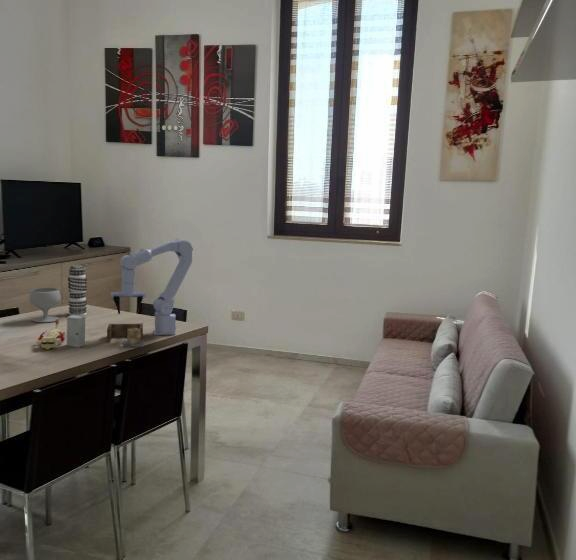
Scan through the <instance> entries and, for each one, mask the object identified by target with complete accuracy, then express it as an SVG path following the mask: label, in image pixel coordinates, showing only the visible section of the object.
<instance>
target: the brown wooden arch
mask: <svg viewBox="0 0 576 560" xmlns="http://www.w3.org/2000/svg"><path fill="white" fill-rule="evenodd" d="M131 328H138V329H140V330H141V341H143V339H144V338H143V336H144V323H141V322H140V323H139V322H138V323H109V324H108V326H107V329H106V342H107V343H111V340H112V338H114V337H118V338H119V337H127V329H131Z"/></svg>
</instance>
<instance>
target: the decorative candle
mask: <svg viewBox="0 0 576 560" xmlns="http://www.w3.org/2000/svg"><path fill="white" fill-rule="evenodd" d="M86 270H87V269H86V268H85V267H84V266H83V265H82V264H81V265H80V264H73V265H71V266H70V267H69V268H68V271H69V273H68V276H67V281H68V283H67V284H68V286H67V288H68V293H69V298H68V299H69V300H68V303H69V304H68V306H69V307H68V313H69V316H72V315H76V316H83V317H84V316H86V315H88V314H87V311H88V310H87V308H88V307H87V305H88V304H87V297H86V293H87V284H88V283H87V280H88V278H87V279H86Z"/></svg>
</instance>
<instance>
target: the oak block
mask: <svg viewBox="0 0 576 560" xmlns="http://www.w3.org/2000/svg"><path fill="white" fill-rule="evenodd" d="M126 337H127V339H126V341H127V343H129V344H131V345H135V344H141V330H140V329H138V328H131V329H127V336H126Z"/></svg>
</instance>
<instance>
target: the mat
mask: <svg viewBox="0 0 576 560" xmlns="http://www.w3.org/2000/svg"><path fill="white" fill-rule="evenodd" d="M144 347H145V340H142V341H141V344H135V345H131V344H129V343H127V340H125V341H124V343H123V348H126V349H127V348H144Z"/></svg>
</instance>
